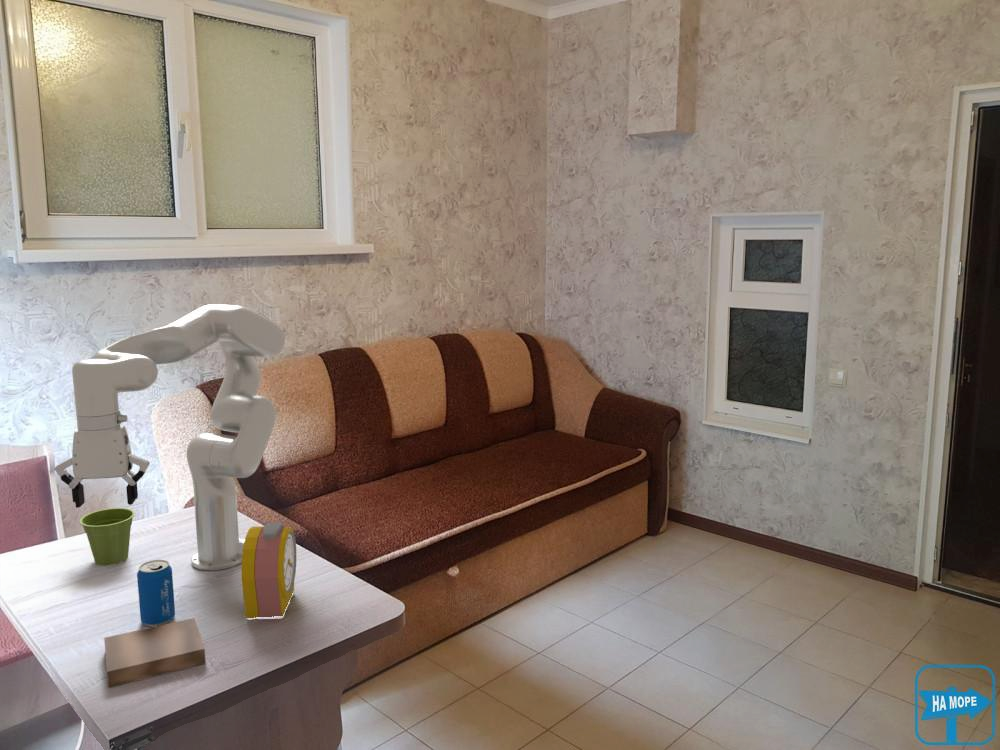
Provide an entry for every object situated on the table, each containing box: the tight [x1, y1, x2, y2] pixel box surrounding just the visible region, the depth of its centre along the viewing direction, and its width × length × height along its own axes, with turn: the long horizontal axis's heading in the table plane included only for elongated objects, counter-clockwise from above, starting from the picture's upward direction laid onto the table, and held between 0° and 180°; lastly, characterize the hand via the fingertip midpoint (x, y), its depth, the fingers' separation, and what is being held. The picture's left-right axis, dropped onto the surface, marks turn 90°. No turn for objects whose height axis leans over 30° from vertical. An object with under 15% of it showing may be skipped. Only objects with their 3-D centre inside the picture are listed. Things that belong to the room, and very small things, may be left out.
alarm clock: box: [240, 521, 297, 619], centre depth 161 cm, size 15×8×18 cm, turn 4°
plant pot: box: [79, 507, 136, 567], centre depth 183 cm, size 12×12×11 cm
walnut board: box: [103, 617, 206, 688], centre depth 142 cm, size 16×13×3 cm
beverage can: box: [136, 559, 176, 627], centre depth 155 cm, size 6×6×12 cm
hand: (106, 503), depth 153 cm, fingers open, 9 cm apart
